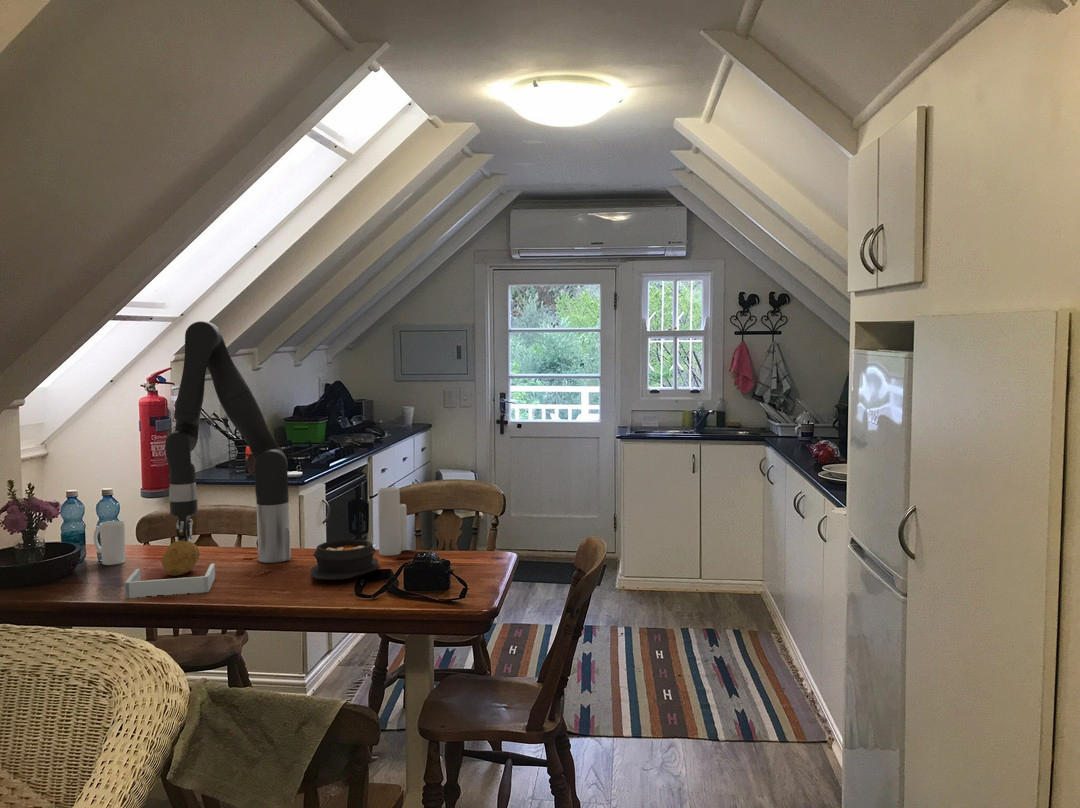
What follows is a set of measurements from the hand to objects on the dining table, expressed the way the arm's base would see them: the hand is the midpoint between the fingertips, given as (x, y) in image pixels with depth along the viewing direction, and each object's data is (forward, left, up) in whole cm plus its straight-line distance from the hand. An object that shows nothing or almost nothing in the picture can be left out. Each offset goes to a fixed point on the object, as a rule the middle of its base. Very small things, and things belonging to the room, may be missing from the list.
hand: (185, 556), depth 254 cm
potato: (0, +10, -3) cm, 10 cm away
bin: (0, +26, -2) cm, 26 cm away
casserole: (-45, +25, -3) cm, 52 cm away
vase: (-60, +1, -3) cm, 60 cm away
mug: (+23, -11, -3) cm, 26 cm away
